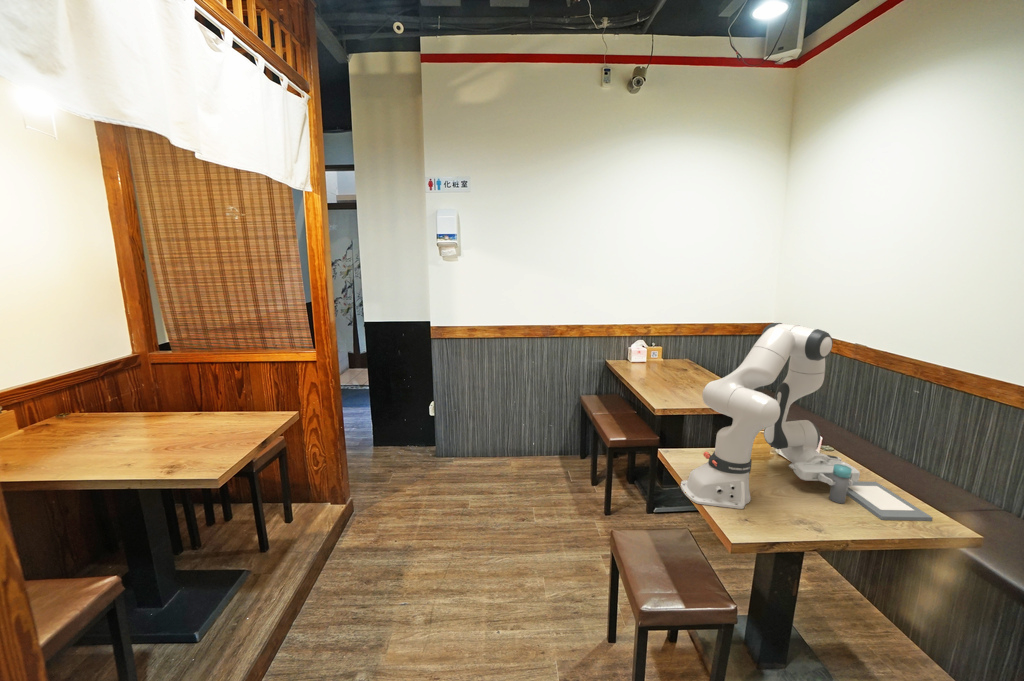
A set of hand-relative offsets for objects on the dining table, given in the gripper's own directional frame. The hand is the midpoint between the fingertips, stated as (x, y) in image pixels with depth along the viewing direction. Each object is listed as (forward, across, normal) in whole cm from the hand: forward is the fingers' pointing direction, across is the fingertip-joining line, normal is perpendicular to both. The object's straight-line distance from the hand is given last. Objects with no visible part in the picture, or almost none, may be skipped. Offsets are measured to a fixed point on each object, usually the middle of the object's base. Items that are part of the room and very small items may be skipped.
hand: (842, 483), depth 146 cm
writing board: (-1, +14, +7) cm, 16 cm away
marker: (-1, 0, +6) cm, 7 cm away
